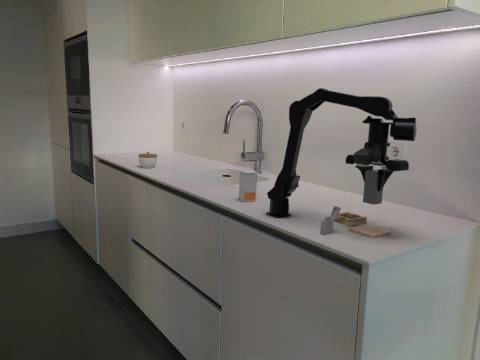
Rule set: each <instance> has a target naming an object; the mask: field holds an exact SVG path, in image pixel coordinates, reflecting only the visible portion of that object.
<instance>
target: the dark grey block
mask: <svg viewBox="0 0 480 360" xmlns="http://www.w3.org/2000/svg"><path fill="white" fill-rule="evenodd" d="M378 181H379V173H378V170H377V169H373V170H366V172H365V183H364V182H363V183H364V185H363V195H362V196H363V197H362V203H365V204H369V205H373V206H375V205H379V204H382V202H383V192H384V187H383V188H382V190H381V191H378Z"/></svg>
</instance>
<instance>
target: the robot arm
mask: <svg viewBox="0 0 480 360" xmlns="http://www.w3.org/2000/svg"><path fill="white" fill-rule="evenodd" d="M326 102H327V103H331V104H336V105H341V106H346V107H349V108H350V107H351V108H355V109H359V110H360V111H363V112H365V113H368V114H369V115H368V116H367V117H366V118H365V119H364V120H362V124H368V134H367V135H368V136H367V141H365V142H364V144H363V148H360V149H359V150H357V151H355V152H354V153H353V154H347V156H346V157H345V164H348V165H354V164H356V165H355V166H354V167H355V168H357V170H359V172H360V174H361V176H362V179H363V183H365V172H366V170H374V166H378V167H381V168H380V169H376V170H378V173H379V181H378V191H381V190H382V188H383V189H384V186H385V185H386V183H387V182H388V181H389V179H390V177H391V176H392V174H393V173H394V172H402V171H409V169H410V168H409V167H410V164H409V161H408V160H406V159H405V160H404V159H399V158H398V159H396V158H394V159H393V158H392V159H390V157H389V156H387V154H388V153H387V152H388V147H391V142H389V136H390V137H391V138H393V141H405V142H415V141H416V138H417V137H416V136H417V118H416V117H398V115H397V114H396V112H395V111H394V110H393V103H392V100H390V99H389V98H388V97H384V96H381V95H380V96H379V95H378V96H372V95H371V96H370V95H369V96H368V95H367V96H366V95H365V96H360V95H354V94H349V93H343V92H339V91H333V90H328V89H326V88H322V87H320V88H317V89H316V90H315V91H314V92H312V93H310V94H309V95H306V96H305V97H303V98H302V99H300V100H295V101H293V102H292V103H290V105H289V106H288V107H289V108H288V122H289V127H290V129H289V133H288V139H287V144H286V148H285V154H284V158H283V164H282V168H281V170H280V172H279V173H278V174H277V177H276V179H275V181H274V185H273V187H272V188H271V189H270V190H269V191H268V192H267V193H266V194H267V197H268V199H269V211H266V213H265V215H269V216H271V217H275V218H278V219H280V218H285V217H290V216H292V213H289V212H290V211H289V210H290V203H289V201H290V197H291V196H292V193H294V192H296V190H297V188H299V187H300V185H299V182H300V179H301V175H298V174H297V164H298V160H299V156H300V151H301V147H302V146H301V145H302V141H303V136H304V132H305V128H306V127H307V125H308V124H309V122H310V120H311V117H312V114H313V112H314V111H316V110H317V109H318V108H319V107H321V106H322V105H323V104H324V103H326ZM373 116H374V117H376V118H374V117H373ZM377 117H378V118H377ZM379 117H381V118H379ZM383 119H384V120H386V121H392V122H385V121H383Z"/></svg>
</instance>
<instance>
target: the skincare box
mask: <svg viewBox="0 0 480 360" xmlns="http://www.w3.org/2000/svg"><path fill="white" fill-rule="evenodd" d="M238 185H239V187H238V201H240V202H242V203H244V202H256V201H257V189H258V187H257V185H258V171H255V170H239V184H238Z"/></svg>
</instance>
